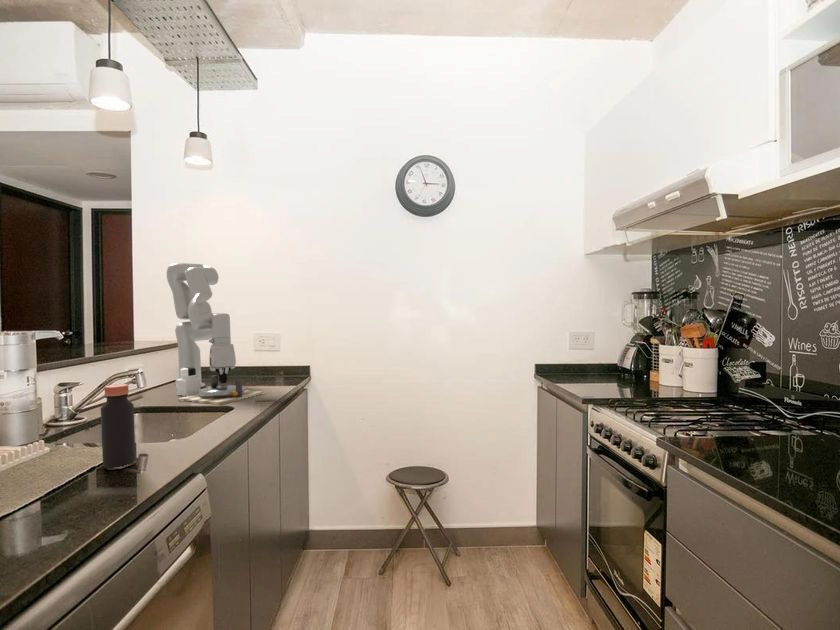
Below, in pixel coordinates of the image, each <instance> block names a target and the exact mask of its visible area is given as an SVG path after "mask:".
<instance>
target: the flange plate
mask: <svg viewBox="0 0 840 630" xmlns="http://www.w3.org/2000/svg"><path fill="white" fill-rule="evenodd" d="M210 381H211V382H210V385H211V386H209V387H204V388H201V390H199V395H200V396H204V397H219V396H229V395H231V396H236V395H238V392H237V391H236V384H235V385H234V384H233V385H232V384H229V385H227V384H226V385H225V384H224V385H219V375H211V376H210ZM244 390H245V386H243V385H242V392H244Z"/></svg>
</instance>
